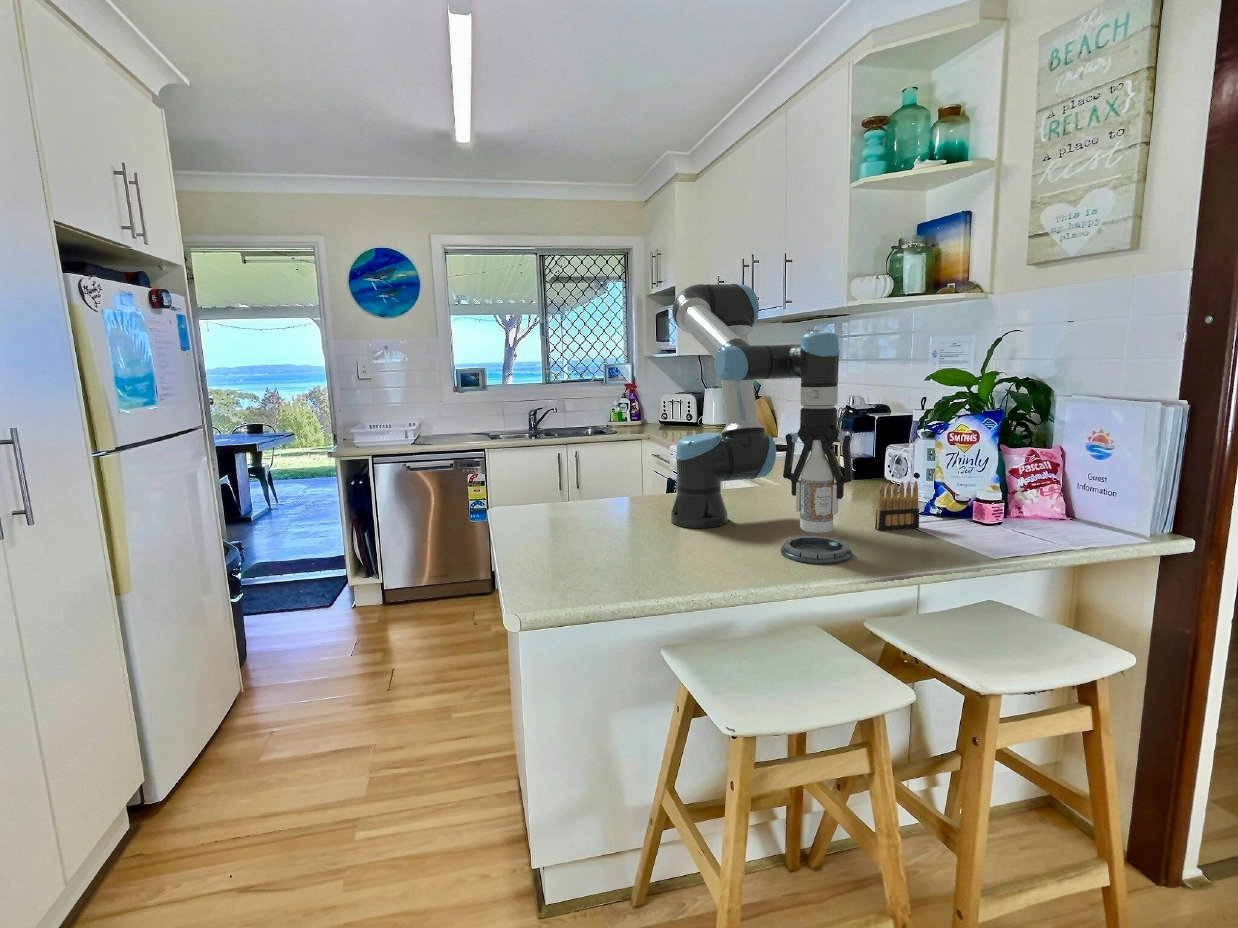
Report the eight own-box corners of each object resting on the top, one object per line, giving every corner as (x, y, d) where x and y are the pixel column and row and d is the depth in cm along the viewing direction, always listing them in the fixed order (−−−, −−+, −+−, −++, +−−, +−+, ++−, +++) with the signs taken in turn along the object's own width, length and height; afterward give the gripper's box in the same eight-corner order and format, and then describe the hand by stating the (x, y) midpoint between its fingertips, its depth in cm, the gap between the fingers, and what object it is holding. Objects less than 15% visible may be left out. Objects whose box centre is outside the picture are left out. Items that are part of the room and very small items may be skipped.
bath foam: (808, 534, 133) (809, 441, 130) (794, 526, 140) (796, 438, 136) (838, 532, 134) (841, 440, 131) (824, 524, 141) (825, 436, 137)
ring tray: (772, 558, 135) (772, 550, 135) (790, 540, 148) (790, 532, 148) (845, 568, 128) (845, 558, 127) (856, 548, 141) (856, 539, 140)
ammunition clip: (878, 531, 154) (880, 483, 152) (874, 529, 155) (876, 482, 153) (919, 528, 155) (921, 481, 153) (914, 526, 157) (917, 479, 155)
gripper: (767, 408, 134) (767, 511, 138) (866, 408, 124) (862, 519, 128) (776, 405, 141) (776, 504, 144) (871, 405, 131) (867, 511, 135)
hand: (816, 511), depth 136 cm, fingers closed on bath foam, 7 cm apart
